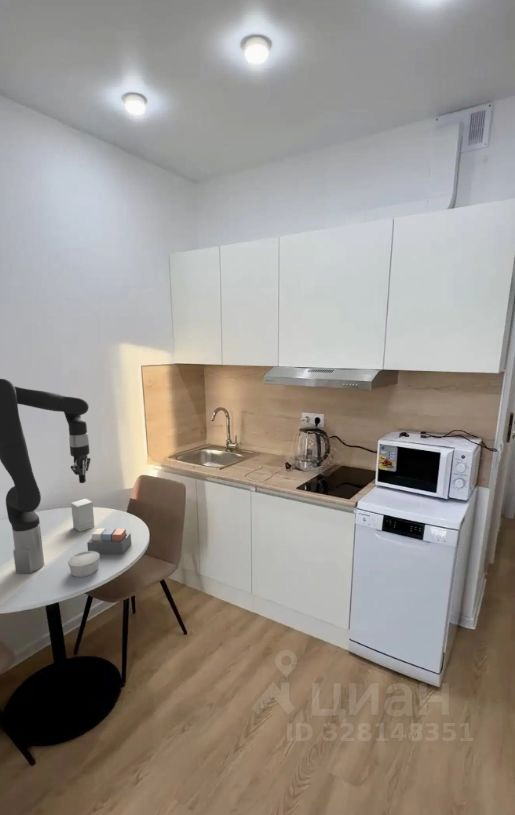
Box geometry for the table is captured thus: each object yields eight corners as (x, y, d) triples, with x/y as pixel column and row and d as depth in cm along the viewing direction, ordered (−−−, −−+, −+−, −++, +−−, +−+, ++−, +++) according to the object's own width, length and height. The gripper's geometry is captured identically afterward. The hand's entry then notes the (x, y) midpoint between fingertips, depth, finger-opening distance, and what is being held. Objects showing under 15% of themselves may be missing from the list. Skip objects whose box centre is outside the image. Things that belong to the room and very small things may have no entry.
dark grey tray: (123, 554, 162) (122, 543, 161) (88, 553, 163) (87, 542, 162) (131, 543, 171) (130, 532, 170) (98, 542, 172) (97, 532, 171)
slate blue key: (111, 545, 164) (110, 534, 163) (102, 545, 164) (101, 534, 163) (116, 539, 169) (115, 528, 168) (108, 539, 169) (107, 528, 168)
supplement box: (95, 526, 187) (92, 501, 185) (79, 532, 182) (77, 506, 180) (88, 522, 192) (86, 497, 190) (72, 527, 187) (70, 502, 185)
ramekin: (95, 559, 159) (94, 547, 158) (104, 571, 150) (103, 559, 149) (66, 569, 152) (64, 557, 151) (73, 582, 143) (72, 569, 142)
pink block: (121, 545, 164) (120, 534, 163) (112, 545, 164) (112, 534, 163) (126, 539, 168) (125, 528, 168) (117, 539, 169) (117, 528, 168)
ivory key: (101, 545, 164) (100, 534, 163) (92, 545, 164) (91, 534, 164) (106, 539, 169) (105, 528, 168) (98, 539, 169) (97, 528, 168)
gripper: (79, 448, 161) (83, 488, 163) (95, 440, 174) (98, 477, 176) (62, 448, 161) (66, 487, 164) (78, 440, 174) (82, 477, 177)
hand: (82, 482), depth 170 cm, fingers closed
